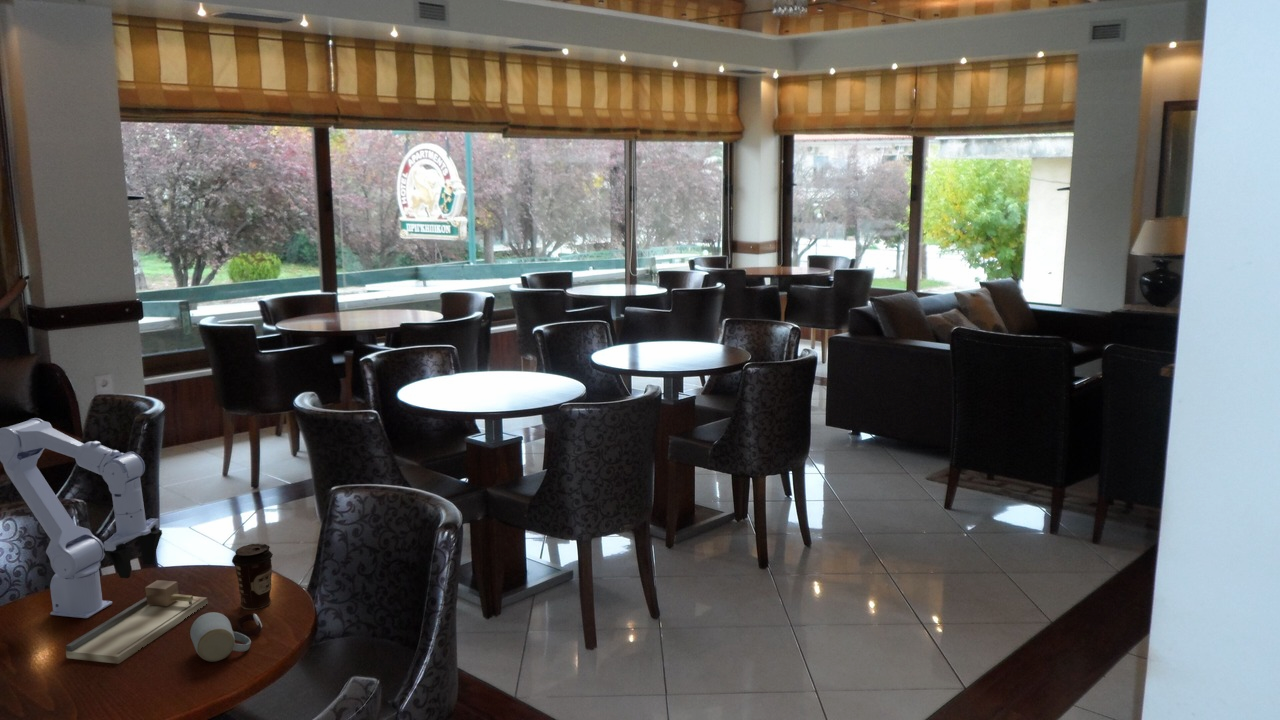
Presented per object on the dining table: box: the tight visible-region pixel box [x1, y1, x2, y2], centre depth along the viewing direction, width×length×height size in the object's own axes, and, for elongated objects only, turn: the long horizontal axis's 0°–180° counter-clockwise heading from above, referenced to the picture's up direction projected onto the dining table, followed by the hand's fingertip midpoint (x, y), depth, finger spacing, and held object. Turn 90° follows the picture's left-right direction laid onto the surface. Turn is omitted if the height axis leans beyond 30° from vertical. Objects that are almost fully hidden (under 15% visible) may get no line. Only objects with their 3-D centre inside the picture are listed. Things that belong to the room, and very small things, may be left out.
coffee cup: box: [231, 543, 274, 611], centre depth 223 cm, size 9×8×13 cm
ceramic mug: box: [189, 611, 252, 663], centre depth 201 cm, size 11×8×8 cm
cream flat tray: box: [65, 595, 209, 664], centre depth 212 cm, size 12×28×3 cm, turn 168°
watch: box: [236, 613, 263, 638], centre depth 211 cm, size 8×5×4 cm, turn 38°
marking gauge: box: [145, 579, 194, 606], centre depth 221 cm, size 10×4×4 cm, turn 78°
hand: (137, 570), depth 217 cm, fingers open, 7 cm apart
